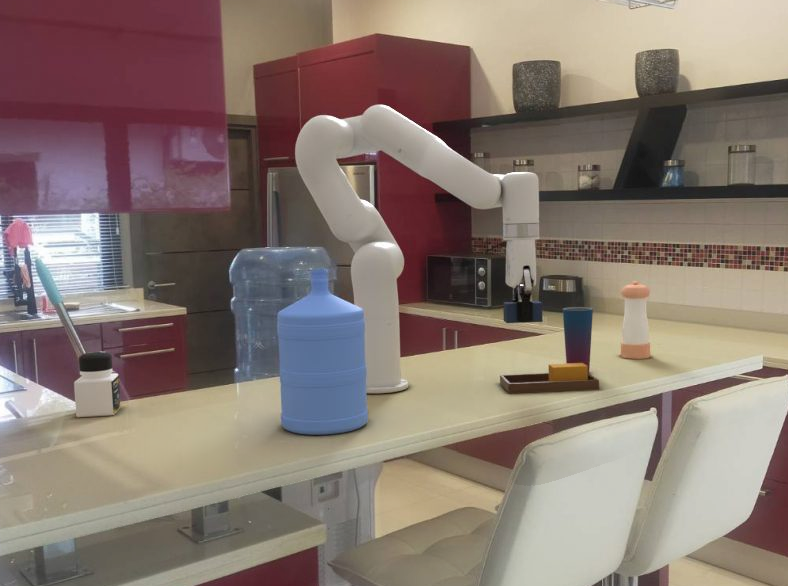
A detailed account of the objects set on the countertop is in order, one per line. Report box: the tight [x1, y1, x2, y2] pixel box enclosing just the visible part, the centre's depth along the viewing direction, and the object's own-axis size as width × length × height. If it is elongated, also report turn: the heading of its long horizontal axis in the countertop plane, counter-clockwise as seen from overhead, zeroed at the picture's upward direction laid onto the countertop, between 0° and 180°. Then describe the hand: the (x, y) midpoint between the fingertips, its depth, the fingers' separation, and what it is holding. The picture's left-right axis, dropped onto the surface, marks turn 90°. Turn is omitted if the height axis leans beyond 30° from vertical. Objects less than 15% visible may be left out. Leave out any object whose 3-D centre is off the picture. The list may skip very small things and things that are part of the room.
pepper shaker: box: [620, 280, 651, 360], centre depth 218 cm, size 7×7×19 cm
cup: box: [562, 306, 594, 374], centre depth 198 cm, size 7×7×15 cm
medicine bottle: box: [73, 351, 122, 418], centre depth 170 cm, size 7×7×12 cm
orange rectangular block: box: [548, 363, 588, 382], centre depth 185 cm, size 8×4×4 cm, turn 95°
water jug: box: [276, 269, 369, 436], centre depth 154 cm, size 16×16×28 cm
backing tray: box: [499, 372, 600, 394], centre depth 185 cm, size 19×10×2 cm, turn 95°
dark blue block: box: [502, 300, 543, 324], centre depth 181 cm, size 8×4×4 cm, turn 95°
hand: (522, 319), depth 181 cm, fingers closed on dark blue block, 4 cm apart
